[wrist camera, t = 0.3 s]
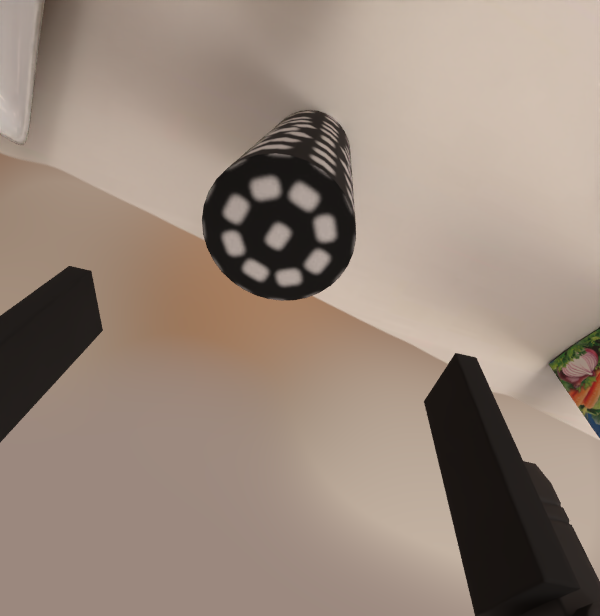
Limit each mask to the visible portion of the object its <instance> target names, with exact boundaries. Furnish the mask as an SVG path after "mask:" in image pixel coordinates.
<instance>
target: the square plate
mask: <svg viewBox="0 0 600 616" xmlns="http://www.w3.org/2000/svg"><path fill="white" fill-rule="evenodd" d="M44 4H45V0H0V135H2V136H4V137H6V138H7V139H9V140H11V141H12V142H14V143H16V144H19V145H24V143H25V142H26V140H27V136H28V131H29V126H30V118H31V110H32V99H33V89H34V81H35V73H36V64H37V56H38V47H39V40H40V33H41V25H42V18H43V11H44Z"/></svg>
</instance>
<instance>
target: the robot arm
mask: <svg viewBox="0 0 600 616" xmlns="http://www.w3.org/2000/svg"><path fill="white" fill-rule="evenodd" d="M102 331H103V329H102V324H101V319H100V314H99V309H98V303H97V299H96V293H95V288H94V283H93V278H92V272H91V271H89V270H85V269H80V268H76V267H72V266H68V267H67V268H66V269H64V270H63V271H62V272H60V273H59V274H58V275H56V276H55V277H54V278H52V279H51V280H49V281H48V282H47V283H45V284H44V285H42V286H41V287H39V288H38V289H37V290H35V291H34V292H33V293H31V294H30V295H28V296H27V297H26V298H25V299H23V300H22V301H20V302H19V303H17V304H16V305H15V306H13V307H12V308H11V309H9V310H8V311H7V312H5V313H4V314H2V315H1V316H0V442H1V441H2V440H3V439H4V438H5V437H6V435H7V434H8V433H9V432H10V431H11V430H12V429H13V428H14V427H15V426H16V425H17V424H18V422H19V421H20V420H21V419H22V418H23V417H24V416H25V415H26V414H27V413H28V412H29V410H30V409H31V408H32V407H33V406H34V405H35V404H36V403H37V402H38V400H39V399H40V398H41V397H42V396H43V395H44V394H45V393H46V392H47V391H48V389H50V388H51V386H52V385H53V384H54V383H55V382H56V381H57V380H58V379H59V378H60V377H61V376H62V374H63V373H64V372H65V371H66V370H67V369H68V368H69V367H70V366H71V365H72V363H73V362H74V361H75V360H76V359H77V358H78V357H79V356H80V355H81V354H82V353H83V351H84V350H85V349H86V348H87V347H88V346H89V345H90V344H91V343H92V342H93V341H94V339H95V338H96V337H97V336H98V335H99V334H100V333H101V332H102ZM424 403H425V407H426V411H427V416H428V420H429V424H430V428H431V433H432V437H433V440H434V445H435V449H436V454H437V458H438V462H439V466H440V470H441V474H442V478H443V483H444V487H445V491H446V495H447V500H448V504H449V508H450V512H451V516H452V520H453V525H454V529H455V533H456V537H457V541H458V546H459V550H460V554H461V558H462V563H463V567H464V571H465V575H466V579H467V583H468V588H469V592H470V596H471V600H472V604H473V609H474V613H475V616H600V581H599V579H598V577H597V575H596V573H595V571H594V569H593V567H592V565H591V563H590V561H589V559H588V557H587V555H586V553H585V551H584V549H583V547H582V545H581V543H580V541H579V539H578V537H577V535H576V533H575V531H574V529H573V527H572V525H570V524H569V519H568V517H567V515H566V513H565V511H564V509H563V508H562V507H561V506H560V504H561V503H560V501H559V499H558V497H557V494H556V492H555V490H554V489H553V486H552V484H551V483H550V481H549V480H548V479H547V478H546V477H545V475H544V474H543V473H542V472H541V470H540V469H539V468H538V467H537V465H536V464H533V463H529V462H524V461H523V460H522V458H521V455H520V453H519V451H518V449H517V447H516V444H515V442H514V440H513V438H512V436H511V433H510V431H509V429H508V427H507V425H506V423H505V420H504V418H503V416H502V414H501V411H500V409H499V407H498V405H497V403H496V400H495V398H494V396H493V394H492V391H491V389H490V387H489V385H488V383H487V380H486V378H485V376H484V374H483V372H482V369H481V367H480V365H479V363H478V361H477V358H475V357H471V356H466V355H462V354H458V353H455V355H454V356H453V358H452V359H451V361H450V362H449V364H448V366H447V367H446V369H445V370H444V372H443V373H442V375H441V376H440V378H439V379H438V381H437V382H436V384H435V385H434V387H433V388H432V390H431V392H430V393H429V395H428V396H427V398H426V399H425V401H424Z"/></svg>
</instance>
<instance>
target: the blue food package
mask: <svg viewBox="0 0 600 616" xmlns="http://www.w3.org/2000/svg"><path fill="white" fill-rule="evenodd" d="M549 365H550V367H551V368H552V370H553V371H554V373H555V374H556V376H557V377H558V379H559V380H560V382H561V383H562V384H563V386H564V387H565V389H566V390H567V392H568V393H569V395H570V396H571V397H572V399H573V400H574V402H575V403H576V405H577V406H578V408H579V409H580V411H581V412H582V413H583V415H584V416H585V418H586V419H587V421H588V422H589V424H590V425H591V427H592V428H593V430H594V431H595V432H596V434H597V435H598V437H599V438H600V329H598V330H596V331H595V332H593V333H592V334H590V335H588V336H587V337H585V338H584V339H582V340H581V341H579V342H578V343H576V344H574V345H573V346H571V347H570V348H569V349H568V350H566V351H565V352H564V353H563V354H561V355H560V356H559V357H558V358H556V359H555V360H554V361H552V362H551V363H549Z"/></svg>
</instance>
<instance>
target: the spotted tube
mask: <svg viewBox="0 0 600 616" xmlns="http://www.w3.org/2000/svg"><path fill="white" fill-rule="evenodd" d="M202 225H203V235H204V238H205V242H206V245H207V248H208V250H209V252H210V254H211V256H212V258H213V260H214V262H215V263H216V264H217V266H218V267H219V268H220V270H221V271H222V272H223V273H224V274H225V275H226V276H227V277H228V278H229V279H230V280H231V281H232V282H234V283H235V284H236V285H238V286H240V287H241V288H242V289H244V290H246V291H248V292H250V293H252V294H254V295H257V296H260V297H264V298H267V299H274V300H297V299H302V298H307V297H310V296H312V295H315V294H317V293H320V292H321V291H323V290H324V289H326V288H327V287H329V286H331V285H332V284H333V283H334V282H335V281H336V280H337V279H338V278H339V277H340V276H341V274H342V273H343V272H344V270H345V269H346V267H347V266H348V264H349V261H350V259H351V257H352V254H353V251H354V246H355V241H356V223H355V210H354V196H353V183H352V169H351V156H350V146H349V142H348V139H347V136H346V134H345V132H344V130H343V129H342V127H341V126H340V124H339V123H337V122H336V121H335V120H334V119H333V118H332V117H330V116H329V115H327V114H325V113H322V112H319V111H313V110H305V111H299V112H297V113H294V114H292V115H290V116H288V117H287V118H285V119H284V120H283V121H282V122H281V123H279V124H278V125H277V126H276V127H275V128H274V129H272V130H271V131H270V132H269V133H268V134H267V135H266V136H264V137H263V138H262V139H261V140H260V141H259V142H257V143H256V144H255V145H254V146H253V147H252V148H250V149H249V150H248V151H247V152H246V153H245V154H244V155H242V156H241V157H240V158H239V159H238V160H237V161H235V162H234V163H233V164H232V165H231V166H230V167H228V168H227V169H226V170H225V171H224V172H223V173H222V174H221V175H220V176H219V177H218V178H217V179H216V181H215V182H214V184H213V186H212V187H211V189H210V190H209V192H208V195H207V198H206V201H205V204H204V208H203V216H202Z"/></svg>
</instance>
